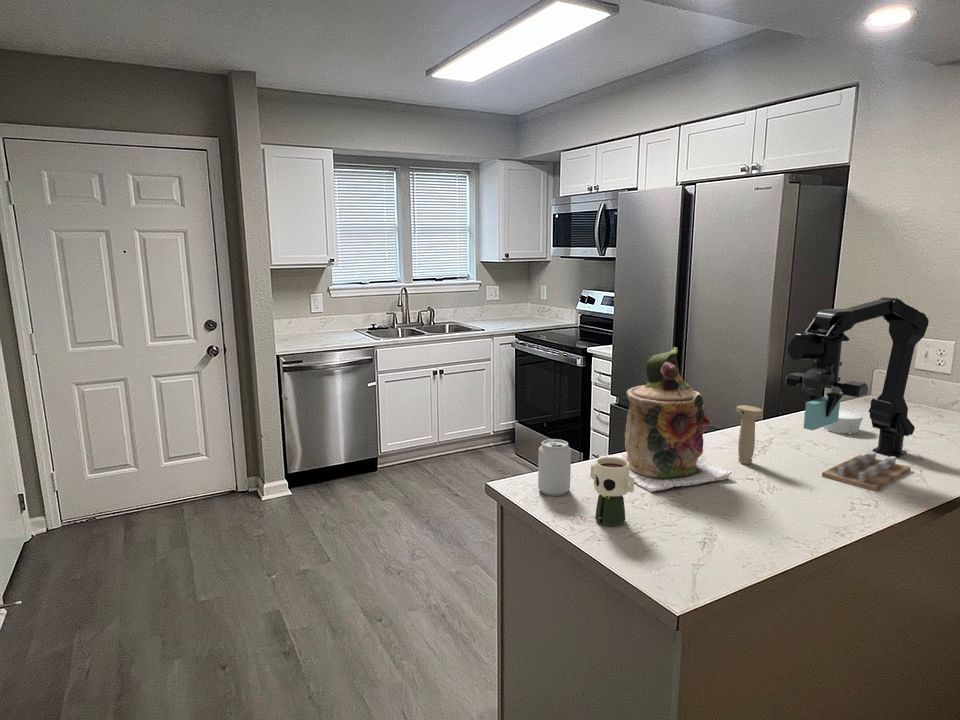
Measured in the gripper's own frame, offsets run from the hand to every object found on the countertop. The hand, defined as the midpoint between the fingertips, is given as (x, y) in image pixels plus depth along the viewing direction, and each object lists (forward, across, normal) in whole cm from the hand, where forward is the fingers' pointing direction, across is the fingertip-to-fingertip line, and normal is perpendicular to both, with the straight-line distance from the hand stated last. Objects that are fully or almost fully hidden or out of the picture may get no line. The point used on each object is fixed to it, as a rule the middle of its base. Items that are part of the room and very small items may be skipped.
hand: (822, 415), depth 163 cm
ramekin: (+13, -9, +34) cm, 37 cm away
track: (+12, +12, -1) cm, 18 cm away
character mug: (+12, -7, -74) cm, 75 cm away
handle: (+12, -10, -18) cm, 24 cm away
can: (+12, -26, -72) cm, 78 cm away
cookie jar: (+12, -20, -41) cm, 47 cm away
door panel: (+3, 0, 0) cm, 3 cm away
